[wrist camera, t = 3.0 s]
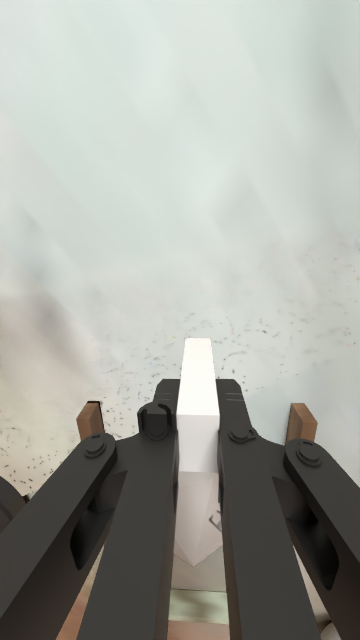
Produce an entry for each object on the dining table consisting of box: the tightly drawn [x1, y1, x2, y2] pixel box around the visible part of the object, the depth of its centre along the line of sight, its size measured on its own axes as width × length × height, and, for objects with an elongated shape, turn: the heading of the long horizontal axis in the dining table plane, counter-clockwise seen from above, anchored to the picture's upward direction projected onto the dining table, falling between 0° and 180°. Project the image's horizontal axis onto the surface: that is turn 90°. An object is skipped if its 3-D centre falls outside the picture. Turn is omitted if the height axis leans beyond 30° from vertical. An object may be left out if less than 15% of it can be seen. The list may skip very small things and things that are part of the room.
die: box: [173, 471, 223, 567], centre depth 20 cm, size 8×9×10 cm
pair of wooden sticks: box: [76, 401, 318, 624], centre depth 27 cm, size 21×34×2 cm, turn 2°
